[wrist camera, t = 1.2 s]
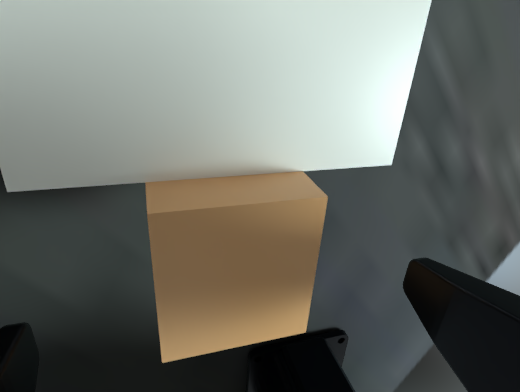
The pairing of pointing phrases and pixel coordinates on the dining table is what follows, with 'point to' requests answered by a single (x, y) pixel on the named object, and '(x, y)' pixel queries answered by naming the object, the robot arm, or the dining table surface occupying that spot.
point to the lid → (209, 135)
